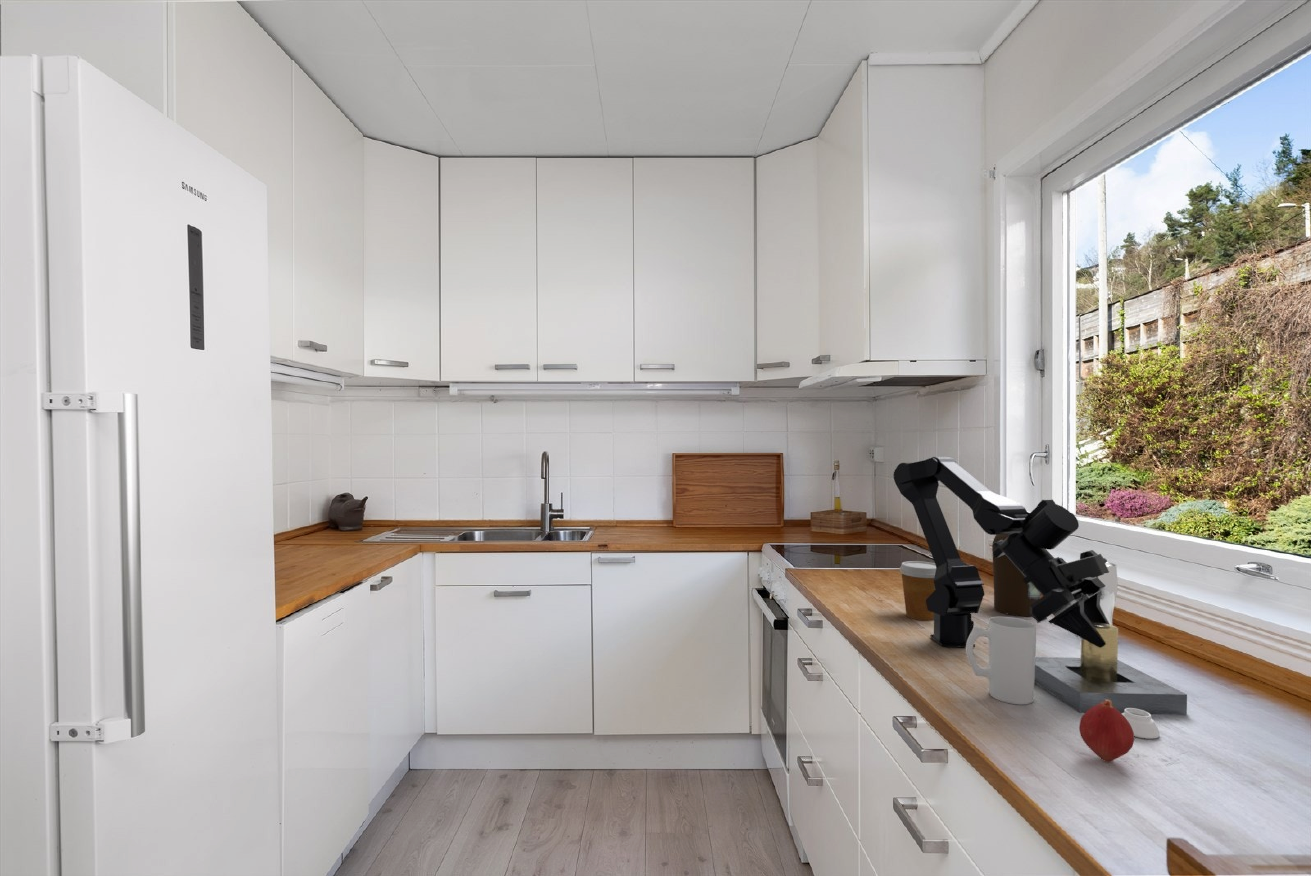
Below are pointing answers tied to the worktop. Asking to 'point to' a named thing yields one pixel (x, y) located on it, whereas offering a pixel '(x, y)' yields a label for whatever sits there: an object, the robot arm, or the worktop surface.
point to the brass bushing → (1100, 655)
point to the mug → (1007, 658)
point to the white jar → (1141, 723)
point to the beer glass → (1108, 591)
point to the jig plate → (1107, 688)
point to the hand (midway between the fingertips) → (1108, 642)
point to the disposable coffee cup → (918, 588)
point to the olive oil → (1011, 586)
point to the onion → (1106, 731)
